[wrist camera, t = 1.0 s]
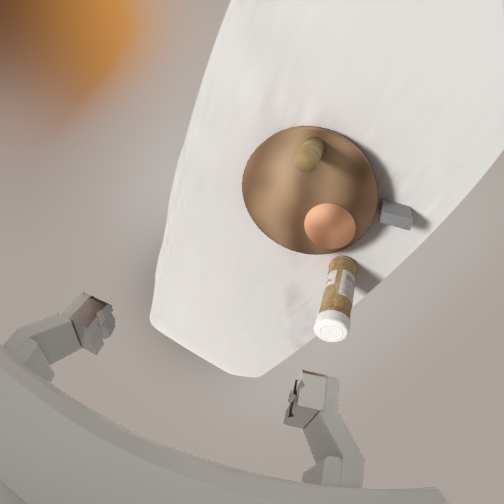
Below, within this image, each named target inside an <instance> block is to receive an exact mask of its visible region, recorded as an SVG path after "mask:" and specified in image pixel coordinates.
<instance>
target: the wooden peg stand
mask: <svg viewBox="0 0 504 504" xmlns="http://www.w3.org/2000/svg"><path fill="white" fill-rule="evenodd" d="M242 192H243V198H244V202H245V205H246V208H247V210H248V212H249V214H250V216H251V218H252V219H253V221H254V222H255V224H256V225H257V226H258V228H259V229H260V230H261V231H262V232H263V233H264V234H265V235H267V236H268V237H269V238H270V239H272V240H273V241H275V242H276V243H278V244H279V245H281V246H283V247H285V248H288V249H290V250H293V251H296V252H300V253H305V254H315V255H316V254H329V253H334V252H337V251H340V250H343V249H345V248H347V247H349V246H351V245H352V244H354V243H355V242H356V241H358V240H359V239H360V238H361V237H362V236H363V235H364V234H365V233H366V231H367V230H368V229H369V227H370V225H371V223H372V222H373V219H374V216H375V214H376V209H377V199H378V195H377V184H376V179H375V175H374V172H373V169H372V167H371V165H370V163H369V161H368V160H367V158H366V157H365V155H364V154H363V153H362V151H361V150H360V149H359V148H358V147H357V146H356V145H355V144H354V143H352V142H351V141H350V140H348V139H347V138H346V137H344V136H342V135H340V134H338V133H336V132H334V131H331V130H329V129H325V128H321V127H315V126H298V127H292V128H288V129H285V130H282V131H280V132H278V133H276V134H274V135H272V136H271V137H269V138H268V139H267V140H266V141H264V142H263V143H262V144H261V145H260V146H259V147H258V148H257V149H256V150H255V151H254V152H253V154H252V155H251V157H250V158H249V160H248V162H247V164H246V167H245V170H244V174H243V180H242Z"/></svg>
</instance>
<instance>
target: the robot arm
mask: <svg viewBox="0 0 504 504" xmlns="http://www.w3.org/2000/svg"><path fill="white" fill-rule="evenodd" d="M112 311H113V309H112V306H111V305H110V304H108V303H106V302H104V301H101V300H99V299H97V298H95V297H93V296H91V295H89V294H87V293H85V292H83V293H80V294H79V295H78V296H77V298H75V300H74V301H73V302H72V303H71V304H70V305H69V306H68V307H67V308H66V309H65V310H64V311H63V313H62V314H56V315H53V316H50V317H47V318H44V319H42V320H39V321H36V322H33V323H31V324H28V325H25V326H23V327H20V328H18V329H17V330H16V331H15V332H14V333H13V334H12V336H11V337H10V338H9V339H8V340H7V341H6V342H5V344H4V345H3V346H1V345H0V504H449V503H448V501H447V500H446V498H445V497H444V495H443V494H442V493H441V492H440V490H439V489H437V488H435V487H427V488H409V489H365V488H362V484H363V473H364V461H365V459H364V457H363V455H362V454H361V452H360V450H359V448H358V446H357V444H356V443H355V441H354V439H353V437H352V435H351V433H350V432H349V430H348V428H347V426H346V424H345V422H344V421H343V419H342V417H341V415H339V414H337V406H338V391H339V379H338V378H335V377H330V376H326V375H322V374H318V373H314V372H309V371H305V370H301V372H300V373H299V376H298V379H297V380H295V382H294V384H293V386H292V388H291V391H290V395H289V400H288V401H289V403H290V405H289V407H288V408H287V410H286V414H285V419H284V424H286V425H290V426H294V427H298V428H303V431H304V433H305V436H306V439H307V441H308V444H309V447H310V449H311V452H312V454H313V457H314V460H315V462H316V465H315V466H313V467H312V468H310V469H309V470H307V471H305V472H304V473H303V477H302V482H297V481H291V480H285V479H280V478H275V477H269V476H265V475H260V474H256V473H252V472H248V471H244V470H240V469H237V468H233V467H229V466H226V465H222V464H219V463H216V462H213V461H209V460H206V459H203V458H200V457H197V456H194V455H192V454H188V453H186V452H183V451H181V450H177V449H175V448H173V447H170V446H168V445H165V444H163V443H160V442H158V441H156V440H153V439H151V438H149V437H146V436H144V435H142V434H139V433H138V432H135V431H133V430H131V429H129V428H127V427H125V426H123V425H121V424H119V423H117V422H115V421H113V420H111V419H109V418H107V417H105V416H104V415H102V414H100V413H98V412H96V411H94V410H93V409H91V408H89V407H88V406H86V405H84V404H82V403H81V402H79V401H77V400H75V399H74V398H73V397H71V396H69V395H68V394H66V393H65V392H63V391H62V390H60V389H58V388H57V387H55V386H54V385H53V384H51V383H50V382H51V380H52V379H53V377H54V372H53V370H52V368H51V367H50V365H51V364H53V363H55V362H57V361H59V360H61V359H62V358H64V357H66V356H68V355H70V354H72V353H74V352H75V351H77V350H79V349H81V347H82V348H84V349H86V350H88V351H90V352H92V353H94V354H96V355H97V353H98V352H99V350H100V349H101V348H102V346H103V345H104V339H106V338H108V337H110V335H111V334H112V332H113V330H114V327H115V318H114V317H113V315H112V314H111V313H112Z"/></svg>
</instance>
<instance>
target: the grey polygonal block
mask: <svg viewBox="0 0 504 504" xmlns="http://www.w3.org/2000/svg"><path fill="white" fill-rule="evenodd" d="M379 213H380V223H384V224H388V225H391V226H395V227H399V228H402V229H406V230H410V229H411V226H412V223H413V216H412V211H411V207H409V206H405V205H402V204H398V203H394V202H390V201H387V200H383V199H382V202H381V205H380V209H379Z"/></svg>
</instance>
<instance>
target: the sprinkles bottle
mask: <svg viewBox="0 0 504 504" xmlns="http://www.w3.org/2000/svg"><path fill="white" fill-rule="evenodd" d="M356 271H357V266H356V264H355V262H354V261H353V260H352V259H351V258H349V257H345V256H338V257H336V258H334V259H333V260H332V261H331V262H330V264H329V272H328V276H327V279H326V284H325V289H324V293H323V297H322V303H321V307H320V311H319V314H318V316H317V317H316V321H315V325H314V332H315V334H316V335H317V336H318V337H319V338H320V339H322V340H324V341H328V342H339V341H342V340H344V339H345V338H346V337H347V336H348V333H349V328H350V313H351V308H352V302H353V295H354V286H355V274H356Z"/></svg>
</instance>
